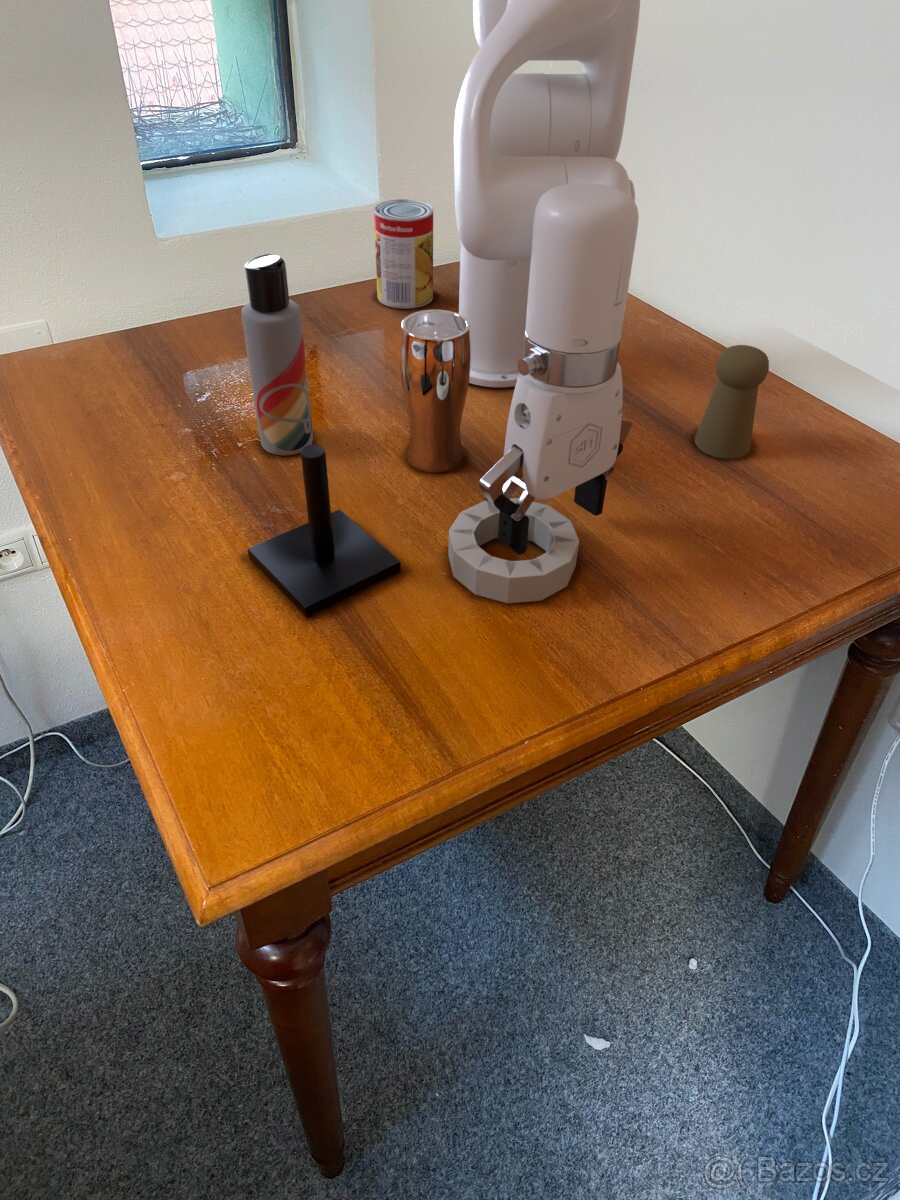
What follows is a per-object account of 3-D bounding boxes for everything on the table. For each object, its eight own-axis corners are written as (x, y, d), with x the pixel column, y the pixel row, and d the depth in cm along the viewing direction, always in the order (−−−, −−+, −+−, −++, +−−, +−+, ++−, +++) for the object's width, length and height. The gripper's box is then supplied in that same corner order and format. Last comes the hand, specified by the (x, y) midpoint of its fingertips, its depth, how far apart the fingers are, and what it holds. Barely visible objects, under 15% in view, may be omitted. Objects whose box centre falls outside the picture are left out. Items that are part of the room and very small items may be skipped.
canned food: (435, 287, 127) (436, 200, 118) (429, 310, 121) (430, 220, 113) (381, 284, 127) (378, 197, 119) (373, 307, 121) (369, 217, 113)
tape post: (340, 518, 85) (330, 407, 77) (401, 571, 79) (398, 457, 71) (248, 558, 80) (228, 444, 72) (306, 617, 75) (291, 501, 67)
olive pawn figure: (754, 437, 98) (781, 344, 90) (744, 464, 94) (771, 369, 86) (701, 424, 100) (723, 333, 92) (688, 450, 95) (710, 356, 88)
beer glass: (475, 447, 95) (481, 314, 85) (454, 481, 90) (458, 345, 80) (415, 434, 97) (414, 303, 87) (392, 468, 92) (388, 333, 82)
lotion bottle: (303, 460, 93) (283, 272, 79) (252, 453, 93) (223, 266, 80) (320, 432, 97) (303, 250, 83) (271, 426, 98) (246, 244, 84)
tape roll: (516, 509, 87) (518, 484, 85) (599, 568, 80) (603, 542, 78) (425, 553, 81) (425, 528, 79) (506, 620, 75) (508, 594, 73)
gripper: (521, 405, 64) (507, 584, 75) (677, 343, 72) (643, 512, 83) (457, 367, 68) (453, 542, 79) (610, 312, 76) (587, 478, 88)
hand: (550, 527), depth 81 cm, fingers open, 9 cm apart
